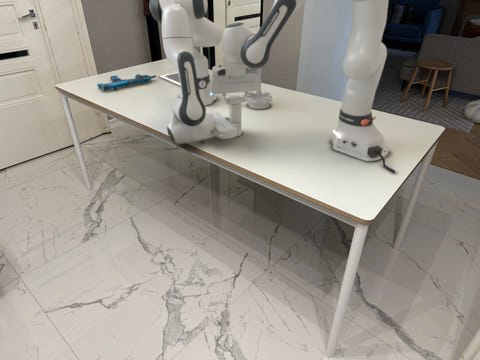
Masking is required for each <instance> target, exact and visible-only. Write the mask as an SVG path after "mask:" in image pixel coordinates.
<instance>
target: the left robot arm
mask: <svg viewBox="0 0 480 360" xmlns="http://www.w3.org/2000/svg"><path fill="white" fill-rule="evenodd" d="M208 6H209V5H208V0H149V11H150V13H151V16H152V18H153V19H154V20H155V21H156V22H159V24H161V37H162V39H161V40H162V46H163V47H162V48H163V51H164V54H165V57H166V60H167V61H168V62H169V63H171V65H172V66H173V67H174V68H175V70H176V72H178V74H179V79H180V86H179V87H180V94H179V97H177V98H175V99H174V101H173V102H172V104H171V107H170V108H171V112H170V113H171V114H170V119H169V123H168V125H167V127H166V131H167V134H168V137H169V139H170V140H171V142H172V143H174V144H175V145H182V144H183V145H184V144H189V143H193V142H196V141H203V140H204V141H205V140H208V139H213V138H214V137H216V138H219V139H222V140H224V139H225V140H226V139H232V138H233V139H234V138H236V137H238V136H237V128H239V127H241V128H242V122H241V123H240V122H237V123H236V124H235V125H234V124H231V123H230V116H223V115H222V114H221V113H219V112H218V111H217V112H215V111H213V112H207V108H206V106H210V105H211V104H213V103H214V102H215V101H216V100H217V96H215V94H212V93H211V91H210V78H211V76H210V75H211V74H210V73H209V71H210V70H209V60H208V58H207V57H206V56H205V55H204V54H202V53H200V52H199V51H198V50H197V48H210V47H217V46H218V45H219V44H220V43H221V41H222V40H223V32H222V29H221V27H220V25H219V24H217V23H215V22H213V21H211V20H210V19H208V18H207V17H205V16H206V15H207V12H208Z"/></svg>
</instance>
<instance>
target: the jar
mask: <svg viewBox="0 0 480 360" xmlns="http://www.w3.org/2000/svg"><path fill="white" fill-rule="evenodd" d="M228 108H229V109H228V110H229V116H228V117H230V123H231V124H234V125H235V124H236V123H237V122H240V123H241V124H242V103H240V104H230V103H228ZM240 136H242V126H241V127H239V128H237V136H236V137H240Z"/></svg>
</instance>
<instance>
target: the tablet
mask: <svg viewBox="0 0 480 360" xmlns="http://www.w3.org/2000/svg"><path fill="white" fill-rule="evenodd" d="M158 77H159V78H161V79H163V80H166V81H167V82H170V83H173V84H175V85H177V86H179V87H181V86H180V79H179V74H178V72H177V71H175V72H171V73H167V74H163V75H158Z"/></svg>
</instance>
